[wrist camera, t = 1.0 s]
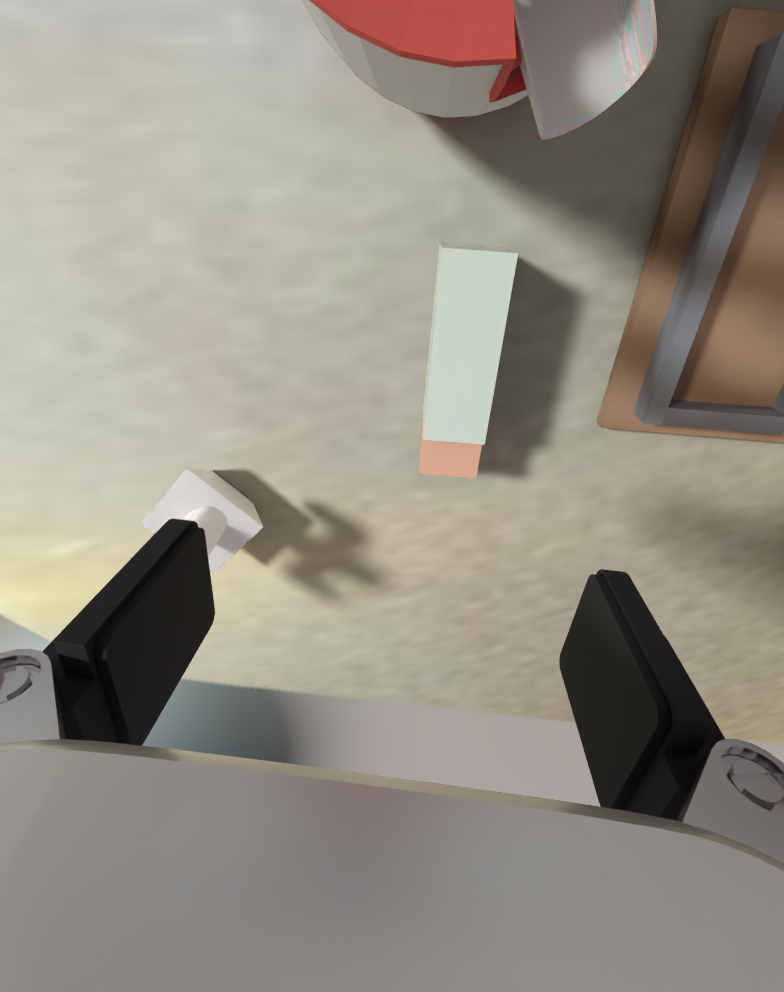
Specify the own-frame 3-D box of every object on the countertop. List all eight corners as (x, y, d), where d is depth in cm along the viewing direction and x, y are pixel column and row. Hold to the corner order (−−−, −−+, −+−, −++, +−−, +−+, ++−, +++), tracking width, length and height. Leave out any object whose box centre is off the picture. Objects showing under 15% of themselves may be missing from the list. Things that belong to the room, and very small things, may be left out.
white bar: (439, 243, 30) (442, 247, 25) (502, 247, 30) (518, 253, 25) (419, 444, 37) (418, 480, 32) (470, 448, 37) (477, 485, 32)
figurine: (283, 496, 40) (216, 626, 27) (222, 555, 44) (137, 693, 31) (214, 439, 38) (104, 552, 25) (155, 506, 42) (33, 635, 29)
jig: (718, 16, 24) (756, -10, 21) (1000, 33, 24) (1076, 8, 21) (596, 422, 35) (610, 439, 32) (786, 437, 35) (817, 455, 32)
